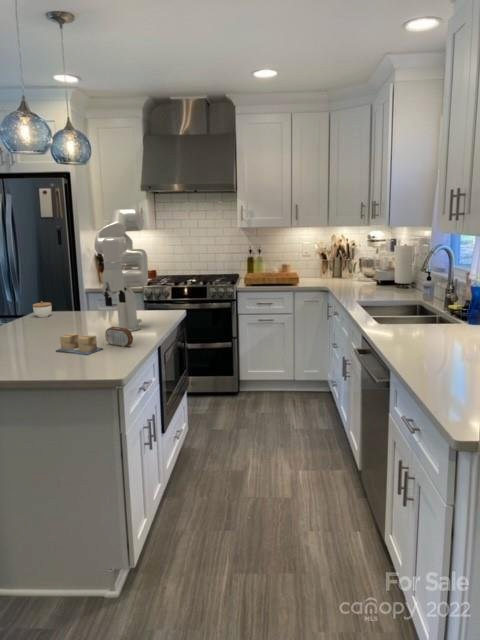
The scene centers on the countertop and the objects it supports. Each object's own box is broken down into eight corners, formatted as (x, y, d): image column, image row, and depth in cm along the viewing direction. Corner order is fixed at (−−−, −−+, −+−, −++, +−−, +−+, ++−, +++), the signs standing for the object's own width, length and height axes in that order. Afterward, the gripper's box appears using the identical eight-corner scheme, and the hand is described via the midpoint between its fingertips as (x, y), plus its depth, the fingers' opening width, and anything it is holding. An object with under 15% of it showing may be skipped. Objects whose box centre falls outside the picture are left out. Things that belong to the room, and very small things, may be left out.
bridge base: (71, 346, 230) (70, 332, 228) (102, 349, 222) (101, 334, 221) (55, 351, 221) (54, 337, 219) (87, 355, 214) (86, 340, 212)
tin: (134, 346, 226) (132, 328, 224) (129, 348, 223) (127, 329, 222) (109, 343, 234) (108, 325, 232) (105, 344, 231) (103, 326, 229)
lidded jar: (34, 315, 306) (33, 300, 304) (53, 314, 309) (51, 299, 307) (33, 318, 296) (31, 303, 294) (52, 317, 299) (50, 301, 297)
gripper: (118, 264, 230) (120, 300, 233) (93, 268, 215) (96, 307, 218) (131, 264, 227) (134, 301, 230) (107, 268, 212) (110, 307, 215)
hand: (115, 304), depth 224 cm, fingers open, 9 cm apart
